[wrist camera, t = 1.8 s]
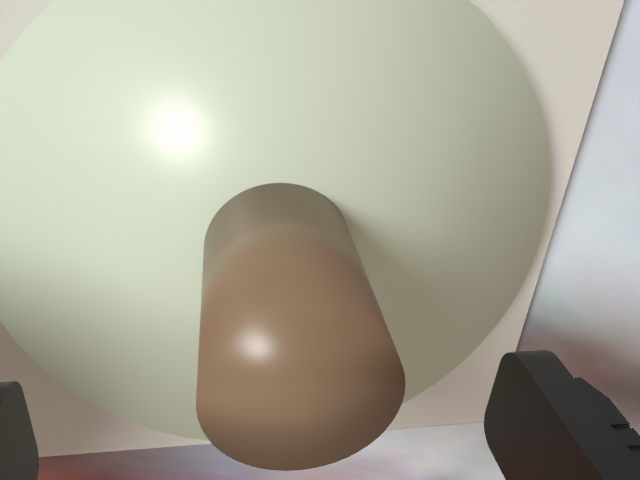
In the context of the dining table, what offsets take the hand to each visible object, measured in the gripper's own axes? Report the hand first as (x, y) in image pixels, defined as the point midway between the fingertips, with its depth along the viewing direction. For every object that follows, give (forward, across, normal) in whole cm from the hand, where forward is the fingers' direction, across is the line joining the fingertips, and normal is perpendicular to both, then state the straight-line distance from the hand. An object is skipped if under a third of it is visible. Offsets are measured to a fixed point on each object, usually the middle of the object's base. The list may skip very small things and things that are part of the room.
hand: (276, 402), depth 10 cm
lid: (+6, 0, 0) cm, 6 cm away
